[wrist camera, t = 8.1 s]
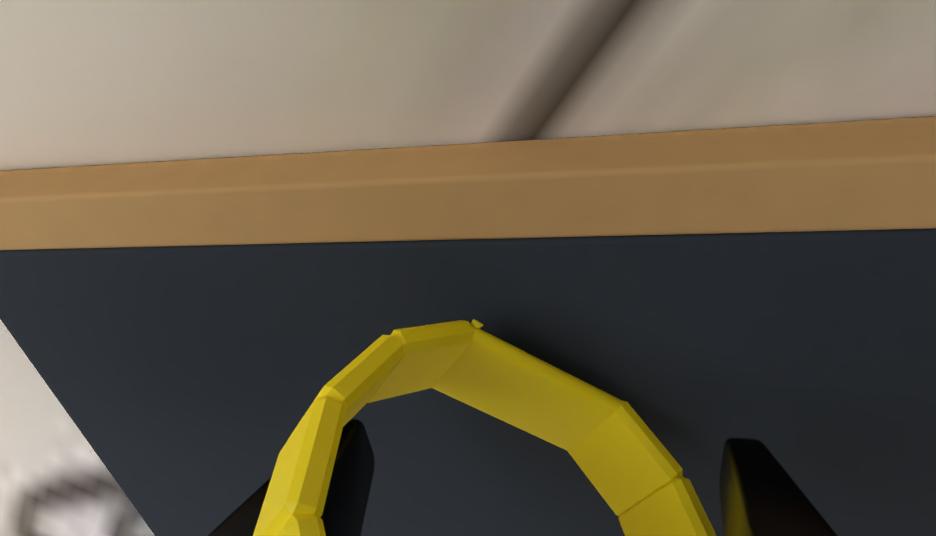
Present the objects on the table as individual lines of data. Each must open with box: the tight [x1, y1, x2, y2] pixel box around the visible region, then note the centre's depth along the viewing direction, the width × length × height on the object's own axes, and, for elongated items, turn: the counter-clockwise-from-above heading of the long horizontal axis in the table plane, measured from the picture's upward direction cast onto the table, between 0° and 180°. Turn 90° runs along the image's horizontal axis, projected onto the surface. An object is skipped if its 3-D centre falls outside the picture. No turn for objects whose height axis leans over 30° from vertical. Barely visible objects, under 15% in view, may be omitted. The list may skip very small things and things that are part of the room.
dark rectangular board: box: [0, 116, 936, 536], centre depth 12 cm, size 20×13×1 cm, turn 98°
